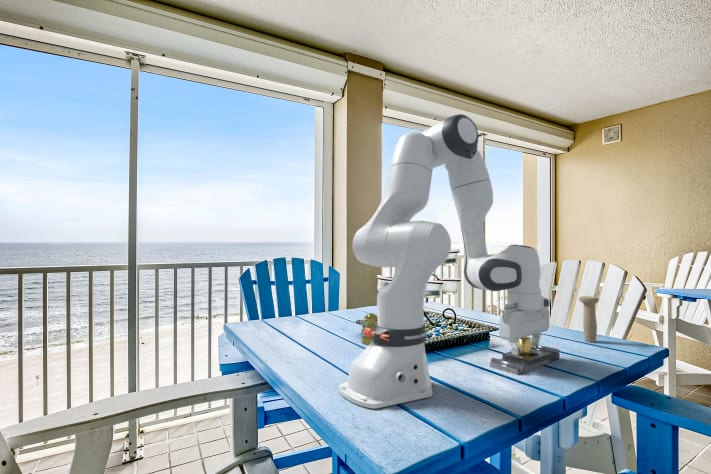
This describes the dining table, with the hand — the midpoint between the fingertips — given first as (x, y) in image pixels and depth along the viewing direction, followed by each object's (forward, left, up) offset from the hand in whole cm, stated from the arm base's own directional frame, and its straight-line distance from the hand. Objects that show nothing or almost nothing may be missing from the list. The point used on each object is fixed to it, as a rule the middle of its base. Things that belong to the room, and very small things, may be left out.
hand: (525, 351), depth 102 cm
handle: (+39, -1, -3) cm, 39 cm away
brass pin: (0, 0, -3) cm, 3 cm away
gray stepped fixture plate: (-3, 0, -3) cm, 4 cm away
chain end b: (+3, 0, -3) cm, 4 cm away
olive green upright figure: (-20, +45, -3) cm, 49 cm away
